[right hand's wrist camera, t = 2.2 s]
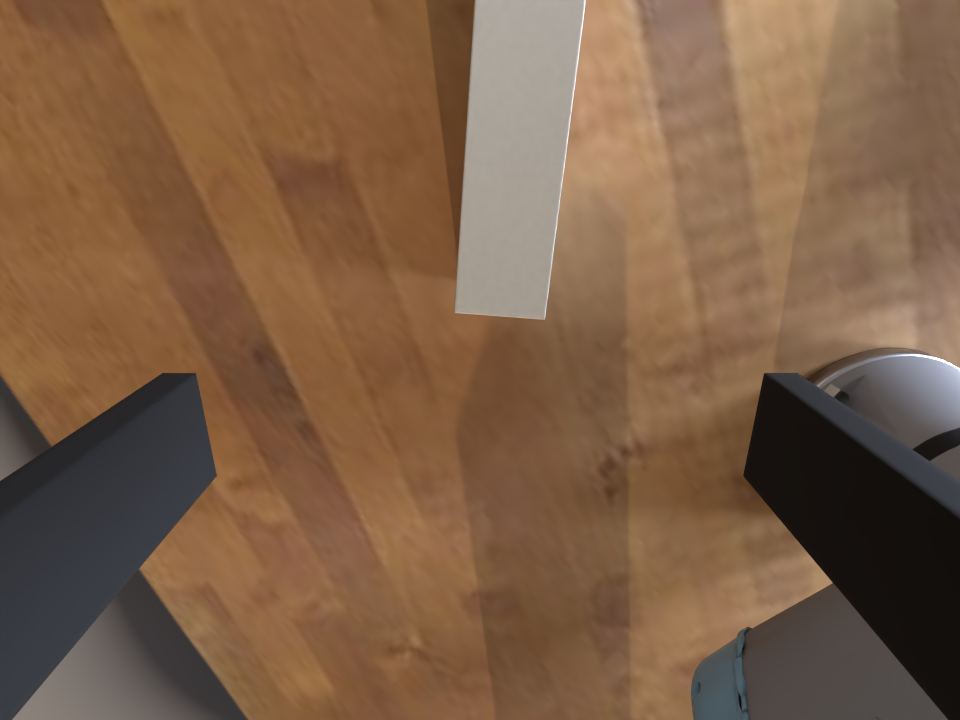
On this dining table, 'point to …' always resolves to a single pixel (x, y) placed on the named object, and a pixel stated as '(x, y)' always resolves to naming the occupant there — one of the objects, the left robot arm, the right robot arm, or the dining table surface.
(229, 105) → the dining table surface
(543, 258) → the bar
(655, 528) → the dining table surface
